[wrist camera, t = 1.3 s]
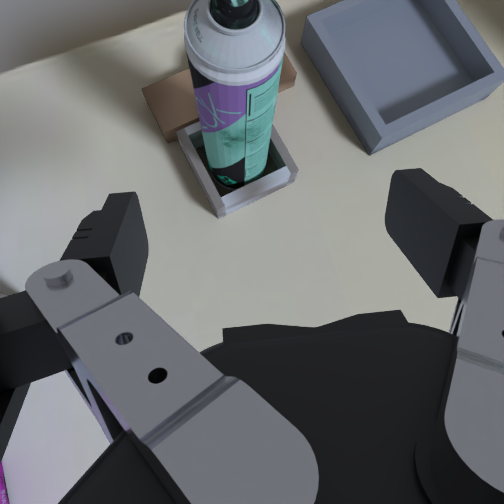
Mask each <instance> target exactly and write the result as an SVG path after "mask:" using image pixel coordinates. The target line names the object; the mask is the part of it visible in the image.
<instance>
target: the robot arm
mask: <svg viewBox="0 0 504 504" xmlns="http://www.w3.org/2000/svg"><path fill="white" fill-rule="evenodd" d="M385 226H386V230H387V232H388V234H389V235H390V237H391V238H392V239H393V240H394V242H395V243H396V244H397V246H398V247H399V248H400V250H401V251H402V252H403V254H404V255H405V256H406V257H407V259H408V260H409V261H410V263H411V264H412V265H413V267H414V268H415V269H416V270H417V272H418V273H419V274H420V276H421V277H422V278H423V280H424V281H425V282H426V284H427V285H428V286H429V287H430V289H431V290H432V291H433V293H434V294H435V295H436V297H437V298H443V297H453V296H457V297H458V301H457V304H456V307H455V310H454V314H453V318H452V322H451V325H450V329H449V333H448V332H446V331H443V330H440V329H437V328H433V327H429V326H426V325H420V324H415V323H408V321H407V320H406V318H405V316H404V315H403V313H402V312H401V310H393V311H384V312H374V313H365V314H357V315H354V316H351V317H348V318H345V319H341V320H338V321H335V322H332V323H329V324H326V325H323V326H320V327H299V326H287V325H275V324H261V325H251V326H242V327H232V328H223V342H222V343H219V344H216V345H214V346H211V347H209V348H207V349H205V350H203V351H201V352H200V353H199V352H198V351H197V350H196V349H195V348H194V347H192V346H191V345H190V344H189V343H188V342H187V341H186V340H185V339H184V338H183V337H182V336H180V335H179V334H178V333H177V332H176V331H175V330H174V329H173V328H172V327H171V326H170V325H168V324H167V323H166V322H165V321H164V320H163V319H162V318H161V317H160V316H159V315H158V314H156V313H155V312H154V311H153V310H152V309H151V308H150V307H149V306H148V305H147V304H146V303H144V302H143V301H142V300H141V299H140V298H139V295H140V290H141V286H142V281H143V277H144V272H145V268H146V263H147V258H148V239H147V234H146V229H145V225H144V221H143V217H142V212H141V208H140V204H139V200H138V196H137V194H136V192H124V193H112V194H109V195H108V197H107V200H106V202H105V204H104V206H103V208H102V210H99V211H93V212H92V213H90V214H89V215H88V216H86V217H85V218H84V219H83V220H82V221H81V223H80V225H79V226H78V228H77V232H75V234H74V235H73V237H72V239H73V240H71V241H70V243H69V245H68V246H67V248H66V250H65V252H64V254H63V256H62V257H61V259H60V261H57V262H54V263H51V264H48V265H46V266H44V267H42V268H40V269H38V270H37V271H36V272H34V273H33V274H32V275H31V276H30V277H29V278H28V279H27V281H26V284H25V289H26V290H25V291H23V292H20V293H16V294H13V295H9V296H6V297H2V298H0V463H1V461H2V458H3V455H4V453H5V450H6V447H7V445H8V442H9V440H10V437H11V434H12V432H13V429H14V426H15V424H16V421H17V418H18V416H19V413H20V410H21V408H22V405H23V402H24V400H25V397H26V395H27V392H28V389H29V387H30V383H31V382H34V381H36V380H39V379H42V378H45V377H48V376H50V375H53V374H56V373H59V372H61V371H64V370H65V372H66V374H67V375H68V377H69V378H70V380H71V381H72V383H73V384H74V386H75V387H76V389H77V390H78V392H79V393H80V395H81V396H82V398H83V400H84V401H85V403H86V404H87V406H88V407H89V409H90V410H91V412H92V413H93V415H94V416H95V418H96V419H97V421H98V423H99V424H100V426H101V428H102V430H103V432H104V434H105V435H106V437H107V439H108V441H109V443H110V446H109V447H108V448H107V449H106V450H105V451H104V452H103V453H102V455H101V456H100V457H99V458H98V459H97V460H96V461H95V462H94V463H93V465H92V466H91V467H90V468H89V469H88V470H87V471H86V472H85V474H84V475H83V476H82V477H81V478H80V479H79V480H78V481H77V483H76V484H75V485H74V486H73V487H72V488H71V489H70V490H69V492H68V493H67V494H66V495H65V496H64V497H63V498H62V499H61V501H60V502H59V503H58V504H504V220H493V219H491V218H490V217H489V216H488V215H486V214H485V213H484V212H483V211H481V210H480V209H479V208H477V207H476V206H475V205H474V204H471V202H470V201H468V200H467V199H466V198H463V196H462V195H461V194H459V193H458V192H457V191H456V190H454V189H453V188H451V187H449V186H446V185H444V184H441V183H439V182H438V181H436V180H435V179H434V178H433V177H431V176H430V175H429V174H428V173H426V172H425V171H424V170H423V169H421V168H416V169H405V170H396V171H395V172H394V173H393V175H392V178H391V183H390V189H389V195H388V201H387V207H386V213H385Z"/></svg>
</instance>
